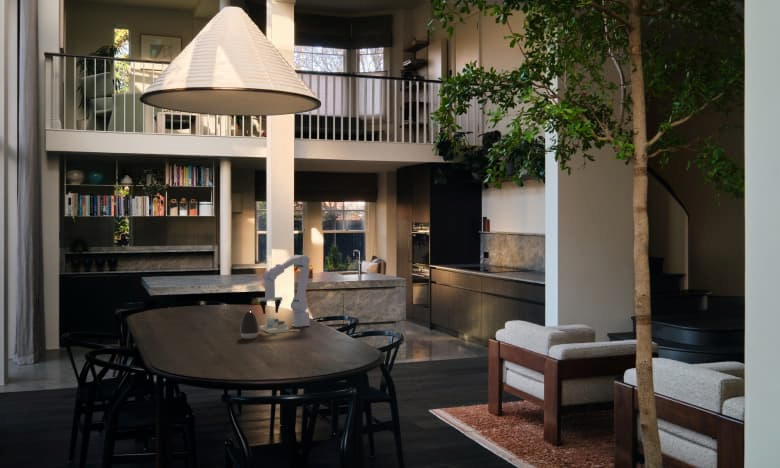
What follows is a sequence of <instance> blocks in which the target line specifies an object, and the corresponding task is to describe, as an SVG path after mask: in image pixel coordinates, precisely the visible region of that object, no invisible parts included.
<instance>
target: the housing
mask: <svg viewBox="0 0 780 468" xmlns="http://www.w3.org/2000/svg"><path fill="white" fill-rule="evenodd" d="M259 330H261V331H263V332H266V333H267V334H278V333H287V332H290V331H289V330H290V328H289V327H287V324H286V323H284V324H280V325H279V324H278V323H277V322H274V326H271V327H267V324H265V325H259Z"/></svg>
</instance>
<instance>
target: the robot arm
mask: <svg viewBox="0 0 780 468" xmlns="http://www.w3.org/2000/svg"><path fill="white" fill-rule="evenodd" d="M310 260H311V259H310V258H309V257H308V255H306V254H305V255H304V254H303V255H302V254H301V255H300V254H294V255H293V256H290V258H289V259H288V260H286V261H285V262H283V263H282V264H281V263H278V264H275V266H274V267H272V268H269V270H265V271H264V272H263V275H262V277H263V280H264V293H265V294H264V295H265V296H264V297H262V298H261V297H260V298H257V302H258V303H259V305H260V307H261V311H262V314H263V315H265V314H266V302H274V305H275V306H274V307H275V308H274V309H275V310H274V311H275V314H278V313H279V312H278V311H279V309H280V305H281V304H282V301H283V297H281V296H279V297H278V296H276V282H275V281H276V279H277V278H278V277H279V276H280V275H282V274H283V273H284V272H285V270H287V269H289V267H292V266H295V267H297V268H298V269H299V270H300V272H299V277H298V283H297V288H296V289H297V290H296V294H295V296H294V297H293V298H292V301H291V303H290V308H291V310H292V312H293V313H292V314H293V324H291V327H294V328H299V327H309V326H311V324H310V312H309V311H308V306H309V305H308V299H307V298H306V292H307V287H308V280H309V275H310V270H311V269H310Z"/></svg>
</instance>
